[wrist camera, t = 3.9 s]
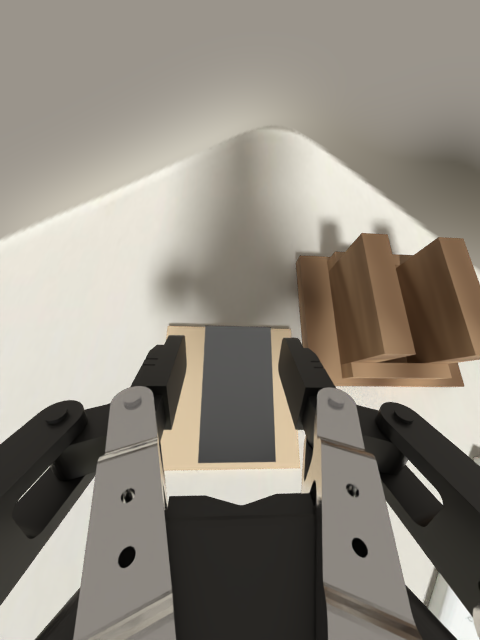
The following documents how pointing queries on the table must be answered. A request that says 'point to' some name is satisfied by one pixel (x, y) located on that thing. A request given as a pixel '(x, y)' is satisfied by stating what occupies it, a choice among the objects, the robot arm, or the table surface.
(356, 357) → the rack
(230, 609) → the robot arm
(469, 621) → the external hard drive
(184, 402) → the cork mat
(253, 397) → the grey rectangular block
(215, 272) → the table surface
